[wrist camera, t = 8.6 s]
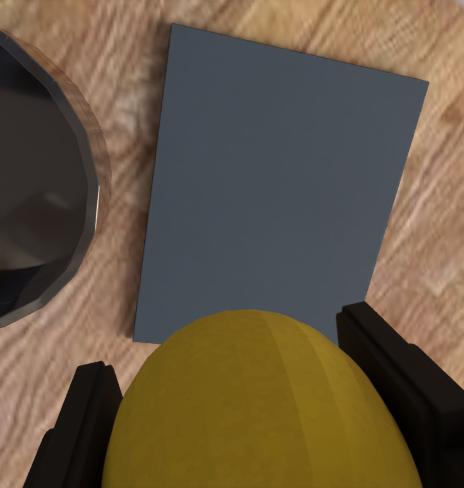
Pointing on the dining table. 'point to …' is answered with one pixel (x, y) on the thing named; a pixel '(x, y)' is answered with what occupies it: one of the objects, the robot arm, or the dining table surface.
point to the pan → (45, 179)
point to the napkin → (269, 182)
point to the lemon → (254, 413)
